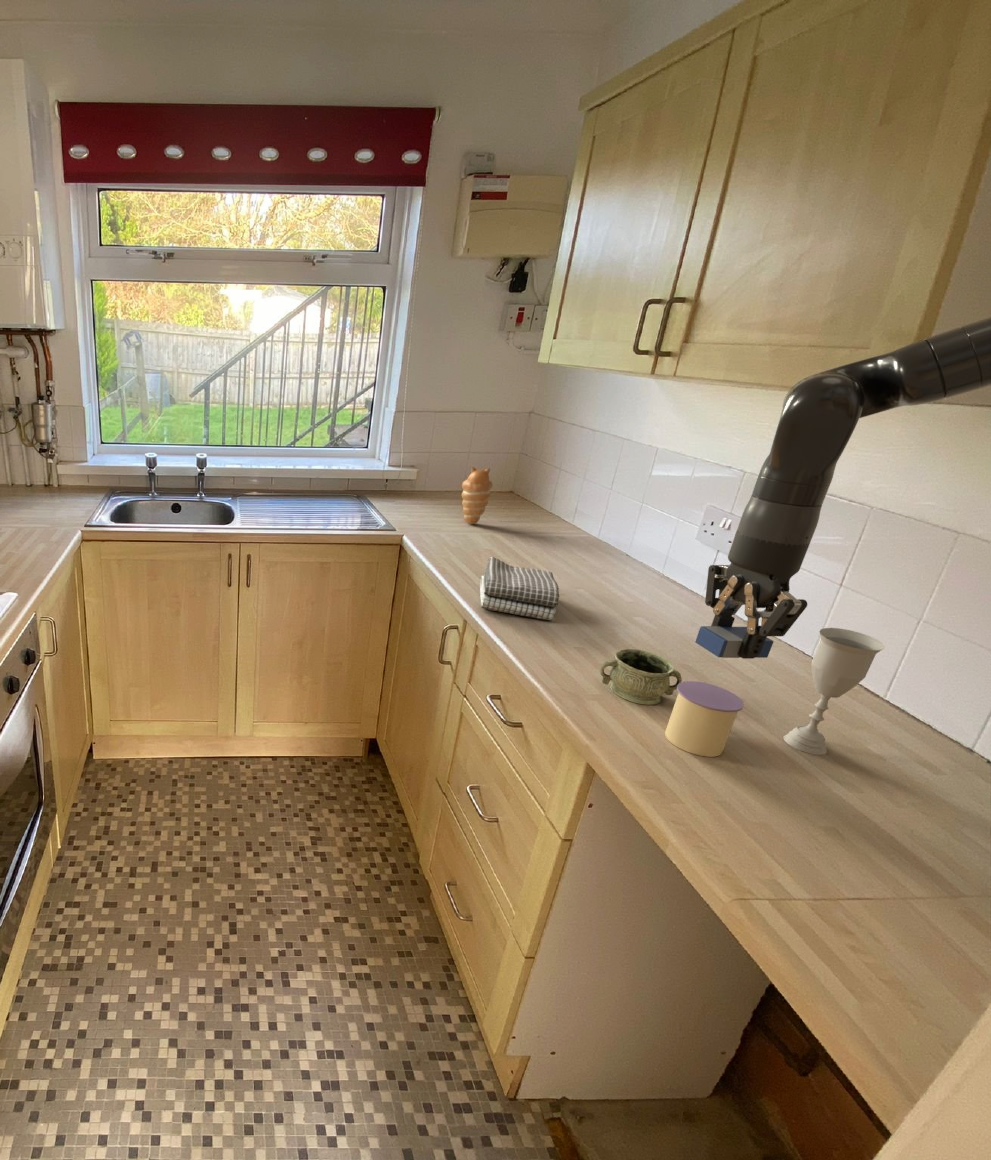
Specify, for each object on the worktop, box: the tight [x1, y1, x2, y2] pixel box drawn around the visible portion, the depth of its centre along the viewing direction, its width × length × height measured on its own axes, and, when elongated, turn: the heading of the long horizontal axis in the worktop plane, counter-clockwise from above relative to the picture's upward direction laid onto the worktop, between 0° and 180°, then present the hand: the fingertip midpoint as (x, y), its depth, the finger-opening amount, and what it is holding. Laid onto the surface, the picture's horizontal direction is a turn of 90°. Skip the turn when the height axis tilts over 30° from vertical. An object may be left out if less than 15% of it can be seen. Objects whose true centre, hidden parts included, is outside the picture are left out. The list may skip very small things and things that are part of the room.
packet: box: [694, 625, 775, 659], centre depth 89 cm, size 7×5×3 cm, turn 92°
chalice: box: [782, 627, 886, 756], centre depth 93 cm, size 7×7×18 cm
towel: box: [479, 556, 560, 621], centre depth 143 cm, size 15×18×8 cm
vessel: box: [599, 648, 683, 706], centre depth 108 cm, size 12×9×6 cm
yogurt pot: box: [664, 680, 745, 758], centre depth 95 cm, size 8×8×8 cm
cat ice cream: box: [461, 466, 493, 525], centre depth 199 cm, size 9×8×18 cm
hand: (731, 647), depth 90 cm, fingers closed on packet, 4 cm apart
